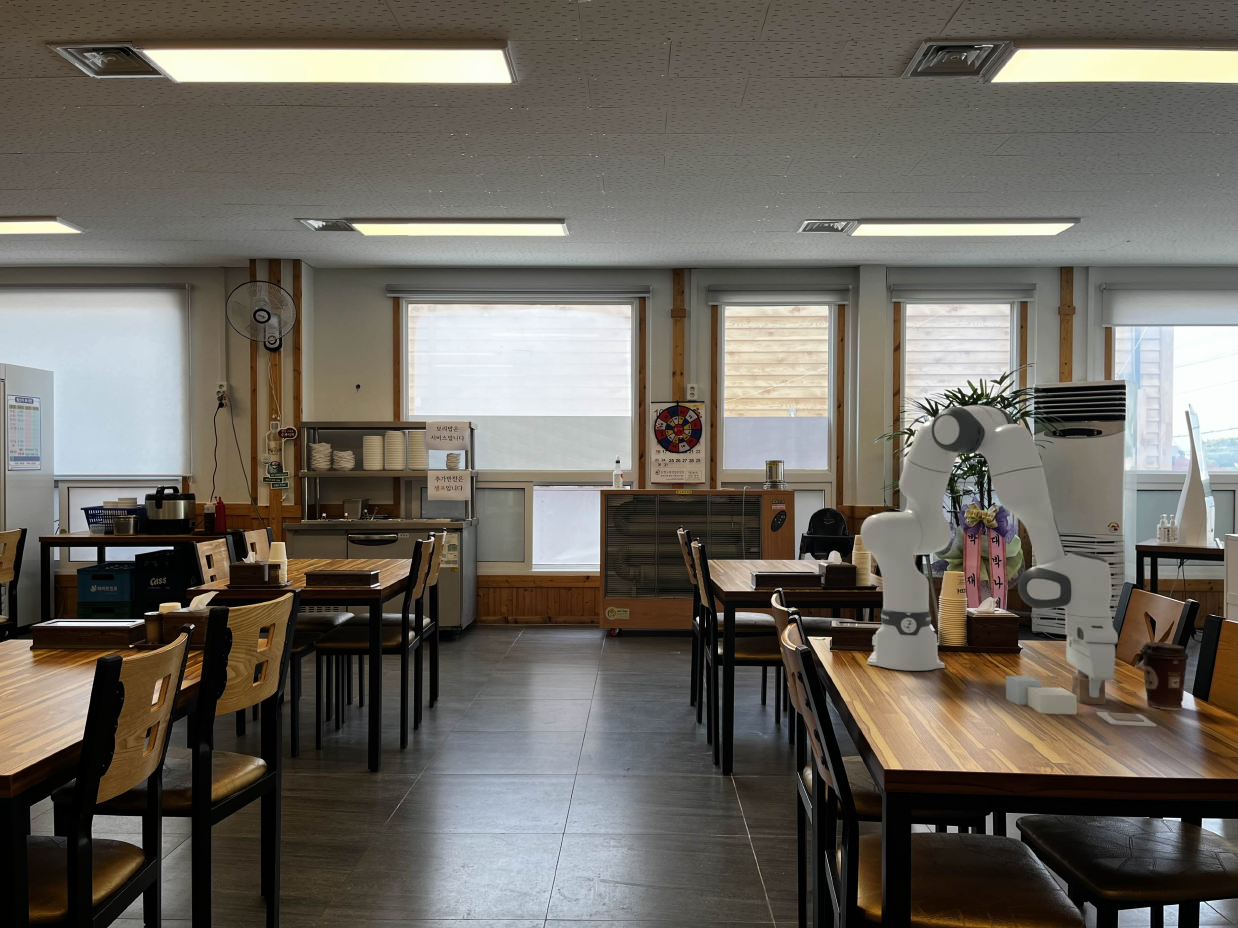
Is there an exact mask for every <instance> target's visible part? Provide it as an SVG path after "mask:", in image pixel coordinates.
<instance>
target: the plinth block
mask: <svg viewBox="0 0 1238 928" xmlns="http://www.w3.org/2000/svg"><path fill="white" fill-rule="evenodd" d="M1077 703H1078V702H1077V696H1076V695H1074V694H1073V693H1072V691H1068V690H1067V689H1065V688H1063V687H1047V686H1045V687H1044V686H1041V687H1028V694H1027V705H1026V706H1028V707H1030V708H1032V709H1033V710H1034V711H1036V712H1038V713H1040V714H1047V715H1048V714H1049V715H1050V714H1053V715H1077V712H1078V711H1077V710H1078V709H1077Z"/></svg>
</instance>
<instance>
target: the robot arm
mask: <svg viewBox="0 0 1238 928" xmlns="http://www.w3.org/2000/svg"><path fill="white" fill-rule="evenodd" d="M975 453H978V454H981V455H982V456H983V457H984V458H985V460H986V462H987V465H988V469H989V473H990V474H989V475H990V479H991V482H992V486H993V490H994V493H995V495H996V496H997V499H998V501H999V503H1000V505H1001V506H1002V507H1003V508H1004V509H1005V510H1007V511H1008V512H1010V513H1011V514H1013V515H1014V516H1015V517H1017V519H1018V520H1019V521H1020V522H1021V523H1022V524H1023V525H1024V527H1025V529H1026V532H1027V534H1028V536H1029V537H1028V538H1029V540H1030V543H1031V544H1030V545H1031V547H1032V550H1033V555H1034V557H1035V561H1036V566H1035V565H1034V566H1033V567H1030V568H1029V569H1026V570H1025V571H1024V572H1023V573H1021V575H1020V577H1019V579H1018V582H1017V590H1018V591H1017V592H1018V594H1019V596H1020V598H1021V599H1022V601H1023V602H1024V603H1025V604H1027V606H1028V607H1031V608H1033V609H1037V610H1051V609H1056V608H1063V609H1064V611H1065V613H1064V614H1065V621H1064V622H1065V635H1066V646H1065V648H1066V649H1065V650H1066V651H1065V659H1066V662H1067V664H1069V665H1071V666H1072V667H1074V668H1075V675H1088V676H1089V680H1090V681H1089V687H1088V695H1089V696H1091V697H1099V688H1100V685H1101V682H1102V680H1105V681H1112V679H1113V677H1114V675H1115V665H1116V664H1115V663H1116V647H1115V644H1118V642H1119V641H1118V639H1119V638H1118V637H1119V636H1118V633H1117V631H1116V630H1115V628H1114V626H1113V622H1112V621H1113V618H1112V611H1111V607H1110V604H1111V603H1110V602H1111V599H1112V595H1113V593H1112V591H1113V590H1112V589H1113V588H1112V574H1111V569H1110V564H1109V562H1108V561H1107V560H1106V559H1105V557H1103V556H1102V555H1101V556H1100V555H1099V554H1095V553H1091V552H1085V551H1078V550H1077V551H1076V550H1075V551H1070V552H1069V553H1066V550H1065V547H1064V543H1063V541H1062V537H1061V535H1060V532H1059V531H1060V530H1059V528H1058V525H1057V522H1056V519H1055V516H1054V512H1053V509H1052V508H1053V507H1052V503H1051V499H1050V494H1049V488H1048V483H1047V479H1046V474H1045V470H1044V467H1043V461H1042V459H1041V456H1040V453H1039V450H1038V447H1037V445H1036V442H1035V440H1034V438H1033V436H1032V434H1031V432H1030V430H1029V429H1028V428H1027V427H1025V426H1024V425H1021V424H1017V423H1014V420H1013V417H1012V416H1011V415H1010V413H1009V412H1007V411H1006V410H1004V409H1003V408H1002V407H998V406H994V405H979V404H972V405H967V406H966V405H965V406H952V407H951V406H950V407H948V408H945V409H943V410H942V411H940V412H938V413H937V414H936V416H935V417H934V419H930V420H927V421H925V422H924V423H922V425H921V426H920V428H919V430H918V431H917V433H916V435H915V437H914V439H913V441H912V444H911V446H910V449H909V450H908V453H907V456H906V460H905V462H904V465H903V469H902V471H901V475H900V477H899V478H900V479H899V481H898V487H899V490H900V492H901V493H902V495H903V496H904V497H905V498H906V506H905V507H906V508H905V510H904V511H883V512H881V513H876V514H873V515H870V516H868V517H867V518H866V519H864V520H863V523H862V525H861V527H860V539H861V543H862V545H863V547H864V548H865V549H866V551H868V552H869V553H870V554H871V555H872V556H873V558H874V559H875V561H876V563H877V565H878V568H879V571H880V574H881V579H882V598H883V601H882V605H883V606H882V608H881V613H880V617H881V619H880V622H881V626H880V627H879V628H878V629H877V631H876V632H875V634H873V636H872V638H871V639H872V640H871V641H872V642H871V645H872V646H873V652H872V653H871V654H870V656H869V657H868V658H867V661H866V665H872V666H876V667H877V666H878V667H883V668H884V669H885V668H886V669H891V670H899V671H914V672H915V671H918V672H919V671H931V670H935V669H936V670H937V669H945V668H946V666H945V665H946V664H945V663H944V662H942V661H941V660H939V659H938V658H939V657H938V654H939V653H938V636H937V635H938V634H937V633H935V631H933V630H932V628H931V624H932V623H931V622H932V621H931V620H932V616H931V615H932V614H931V611H930V606H929V605H930V604H929V603H930V602H929V601H930V597H929V595H930V584H929V583H930V582H929V579H928V578H927V577H926V576H925V574H923V573H922V572H920V570H918V567H917V565H916V563H915V558H914V556H915V555H916V556H919V555H921V556H922V555H923V556H925V555H930V554H935V553H938V552H940V551H943V550H945V549H946V548H947V547H948V546H949V545H950V542H951V539H952V528H951V525H950V522H949V521H948V520H947V518H946V517H945V514H944V498H945V494H946V491H947V487H948V483H949V480H950V478H951V474H952V473H953V472H952V471H953V468H954V465H955V462H956V460H957V457H958V455H959V454H975Z"/></svg>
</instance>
